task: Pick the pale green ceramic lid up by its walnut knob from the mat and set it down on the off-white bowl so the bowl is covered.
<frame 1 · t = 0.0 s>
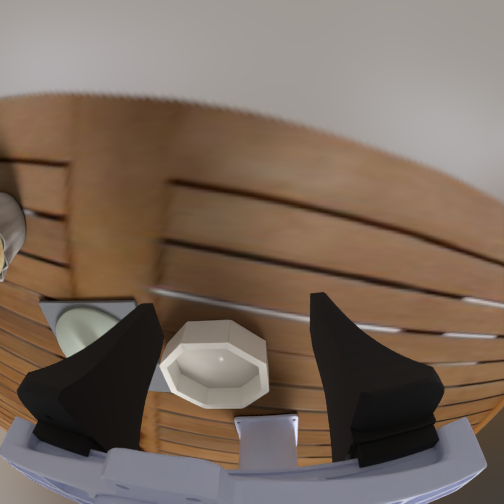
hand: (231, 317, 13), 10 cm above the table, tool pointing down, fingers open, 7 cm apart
bowl: (217, 358, 28), on the table
lid: (102, 350, 28), resting on mat
cupcake: (9, 221, 22), on the table
mat: (103, 348, 28), on the table
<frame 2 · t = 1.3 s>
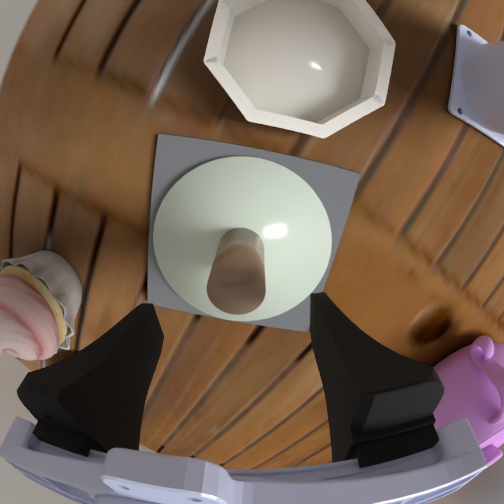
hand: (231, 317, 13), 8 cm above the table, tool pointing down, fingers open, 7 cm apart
bowl: (297, 55, 15), on the table
lid: (241, 245, 20), resting on mat
cupcake: (58, 279, 22), on the table
teapot: (464, 372, 28), on the table
mat: (241, 243, 20), on the table
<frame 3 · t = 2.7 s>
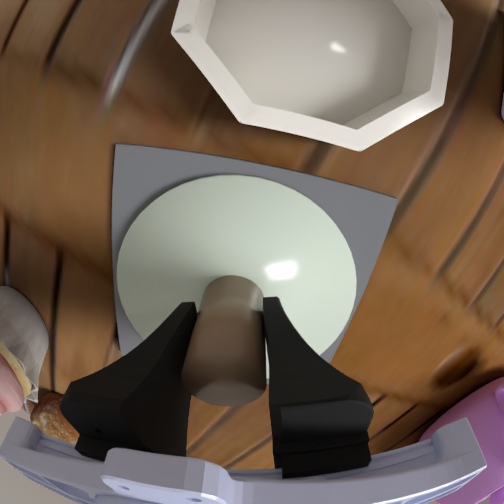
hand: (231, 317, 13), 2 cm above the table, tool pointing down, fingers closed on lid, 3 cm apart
bread roll: (77, 418, 23), on the table
bowl: (313, 29, 9), on the table
lid: (234, 295, 15), resting on mat, touching gripper
cupcake: (22, 318, 17), on the table
teapot: (482, 404, 22), on the table
mat: (234, 290, 15), on the table
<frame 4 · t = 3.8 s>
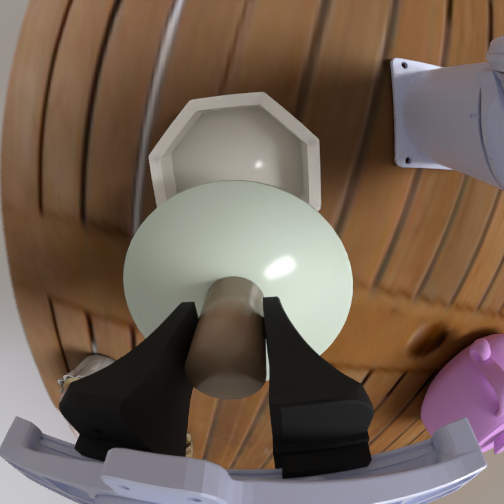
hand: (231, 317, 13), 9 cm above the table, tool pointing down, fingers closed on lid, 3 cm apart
bowl: (237, 170, 19), on the table
lid: (235, 296, 15), point 7 cm above the table, touching gripper
cupcake: (110, 371, 29), on the table
teapot: (478, 361, 28), on the table
when the fingers open (6 cm above the table, at t = 5.1 s): lid stays where it is, resting on bowl.
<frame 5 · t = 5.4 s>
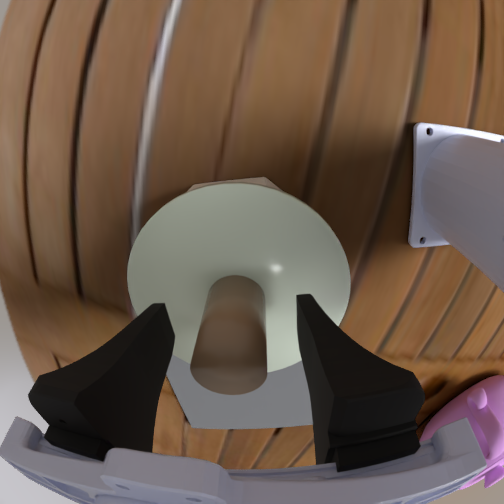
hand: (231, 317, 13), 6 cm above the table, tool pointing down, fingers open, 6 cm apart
bowl: (238, 258, 18), on the table
lid: (237, 293, 16), point 3 cm above the table, touching bowl
teapot: (477, 397, 27), on the table
mat: (246, 390, 24), on the table
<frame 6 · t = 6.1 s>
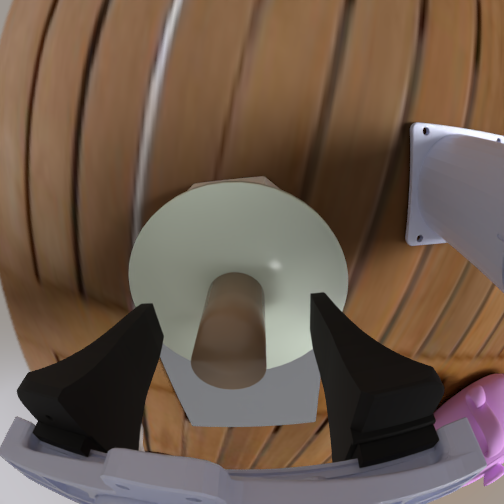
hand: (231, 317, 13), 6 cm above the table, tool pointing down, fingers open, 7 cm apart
bowl: (238, 256, 18), on the table
lid: (236, 290, 16), point 3 cm above the table, touching bowl
teapot: (476, 395, 28), on the table
mat: (245, 388, 24), on the table
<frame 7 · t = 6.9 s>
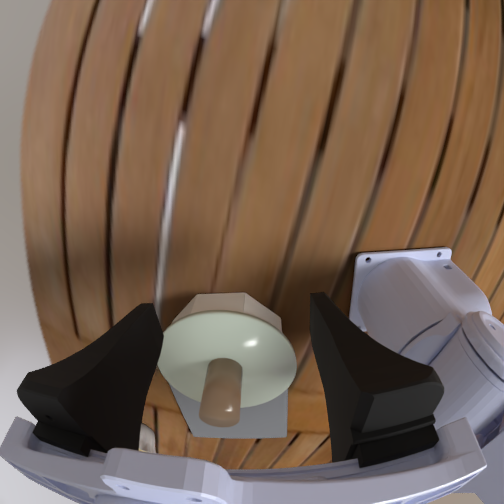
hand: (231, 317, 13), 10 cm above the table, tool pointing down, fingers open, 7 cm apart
bowl: (227, 337, 26), on the table
lid: (225, 364, 24), point 3 cm above the table, touching bowl
cupcake: (136, 427, 36), on the table
mat: (233, 412, 32), on the table
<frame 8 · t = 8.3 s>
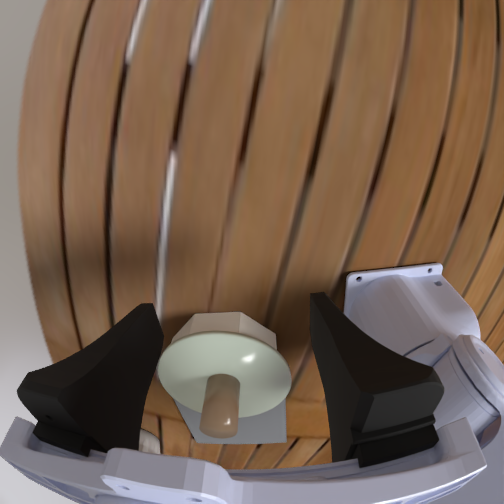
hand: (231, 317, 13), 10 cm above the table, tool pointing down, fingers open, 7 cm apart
bowl: (225, 352, 27), on the table
lid: (224, 379, 25), point 3 cm above the table, touching bowl
cupcake: (141, 435, 37), on the table
mat: (234, 420, 33), on the table
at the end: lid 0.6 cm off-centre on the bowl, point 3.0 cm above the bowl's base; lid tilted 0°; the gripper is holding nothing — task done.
